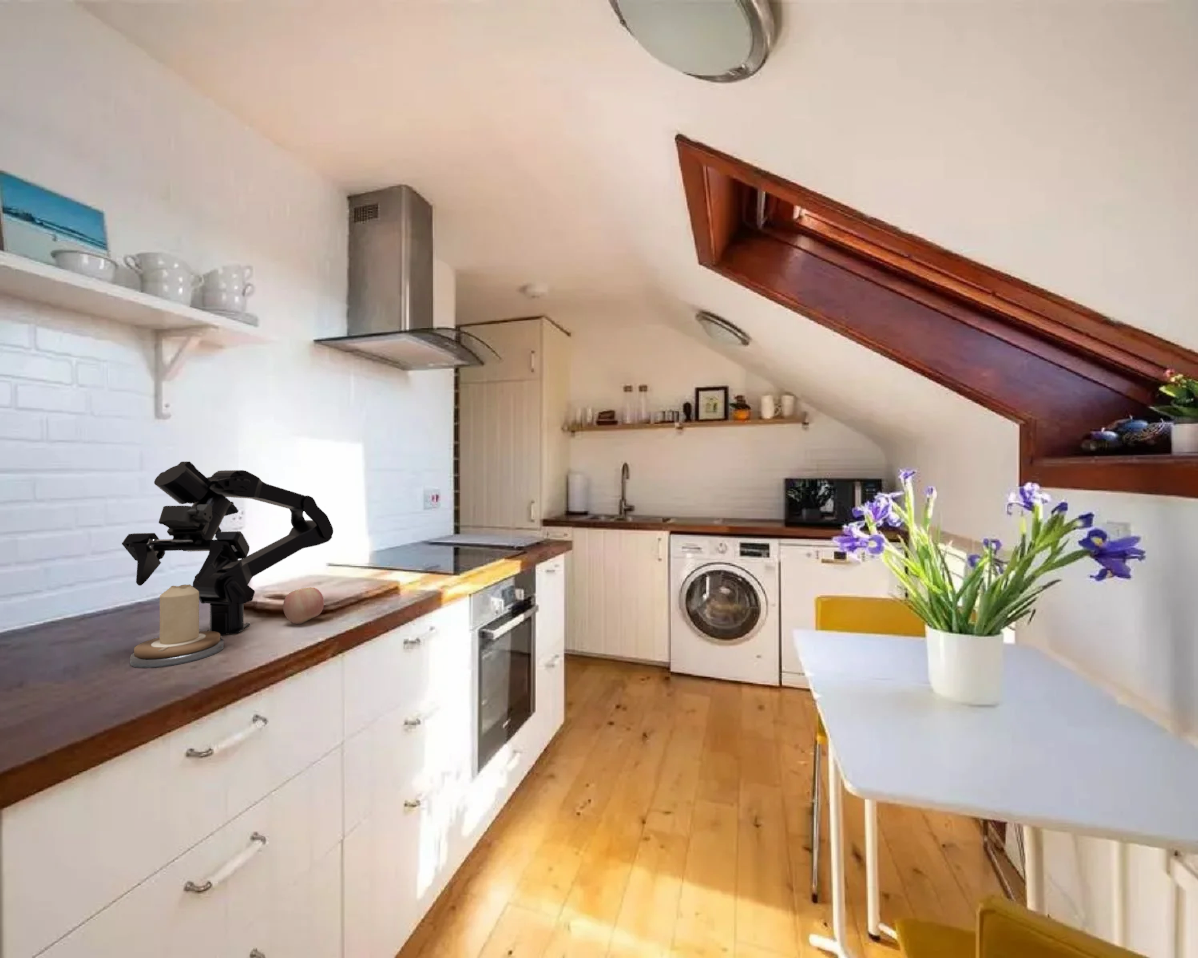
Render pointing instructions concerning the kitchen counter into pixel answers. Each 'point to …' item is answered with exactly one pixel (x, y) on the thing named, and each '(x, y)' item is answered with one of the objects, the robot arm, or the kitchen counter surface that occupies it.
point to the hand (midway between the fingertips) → (168, 583)
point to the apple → (303, 605)
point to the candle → (179, 614)
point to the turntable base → (176, 658)
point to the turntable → (176, 646)
